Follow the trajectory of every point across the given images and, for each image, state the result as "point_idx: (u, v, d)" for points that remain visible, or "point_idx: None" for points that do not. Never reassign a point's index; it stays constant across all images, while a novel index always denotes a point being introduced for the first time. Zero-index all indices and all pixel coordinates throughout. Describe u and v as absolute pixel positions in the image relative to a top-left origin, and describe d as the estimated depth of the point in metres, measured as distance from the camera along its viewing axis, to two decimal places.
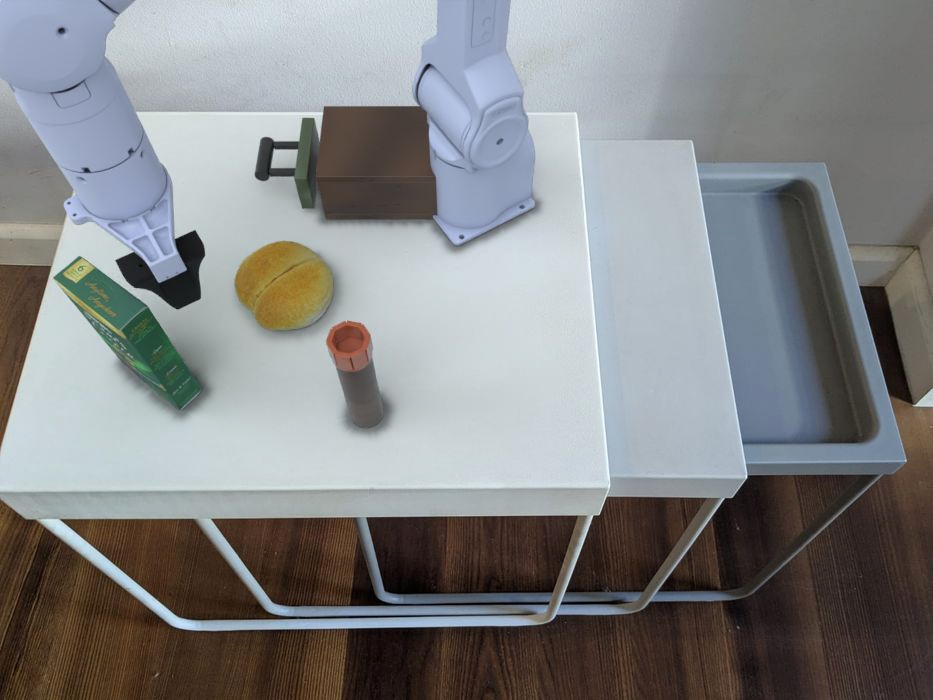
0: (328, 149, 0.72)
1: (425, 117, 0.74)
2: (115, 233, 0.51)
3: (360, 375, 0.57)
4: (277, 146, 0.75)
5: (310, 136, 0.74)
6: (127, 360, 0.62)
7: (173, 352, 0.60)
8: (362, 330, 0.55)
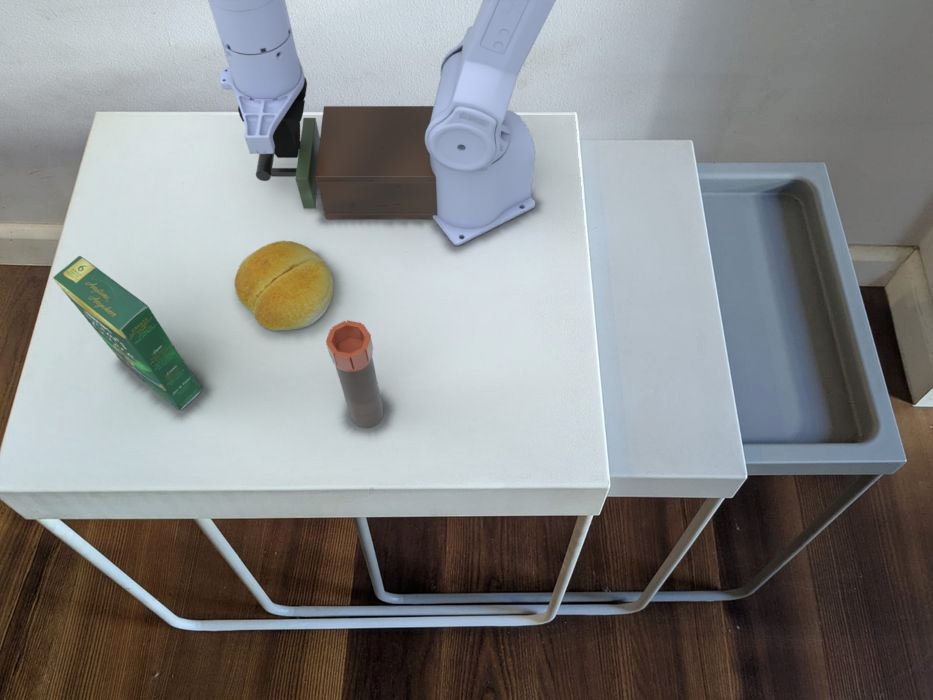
0: (328, 149, 0.72)
1: (425, 117, 0.74)
2: (239, 104, 0.64)
3: (360, 375, 0.57)
4: None
5: (311, 136, 0.74)
6: (127, 360, 0.62)
7: (173, 352, 0.60)
8: (362, 330, 0.55)
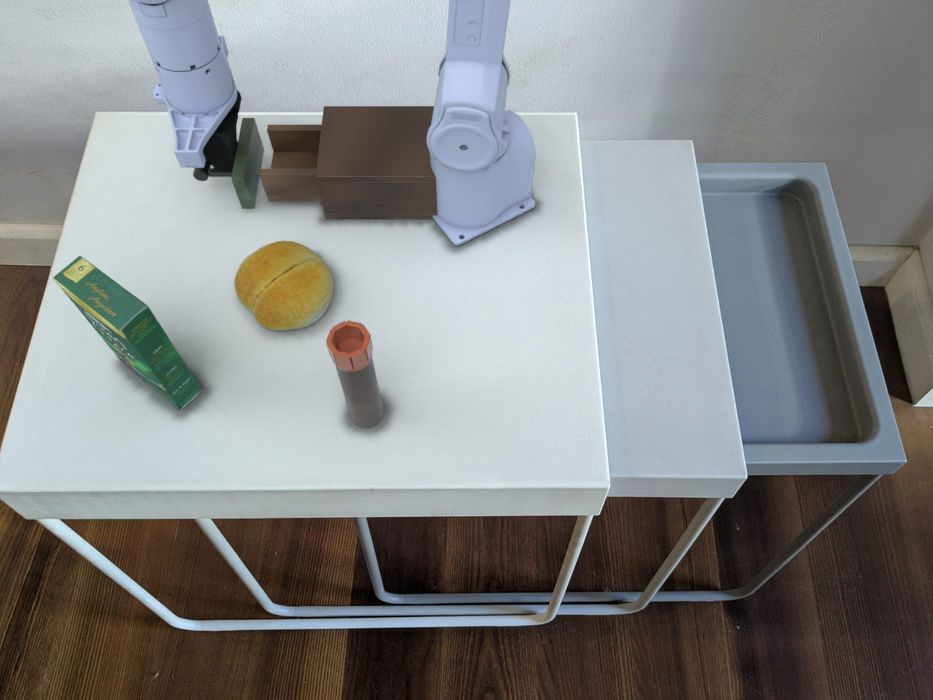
0: (328, 149, 0.72)
1: (425, 117, 0.74)
2: (171, 119, 0.66)
3: (360, 375, 0.57)
4: None
5: (249, 136, 0.74)
6: (127, 360, 0.62)
7: (173, 352, 0.60)
8: (362, 330, 0.55)
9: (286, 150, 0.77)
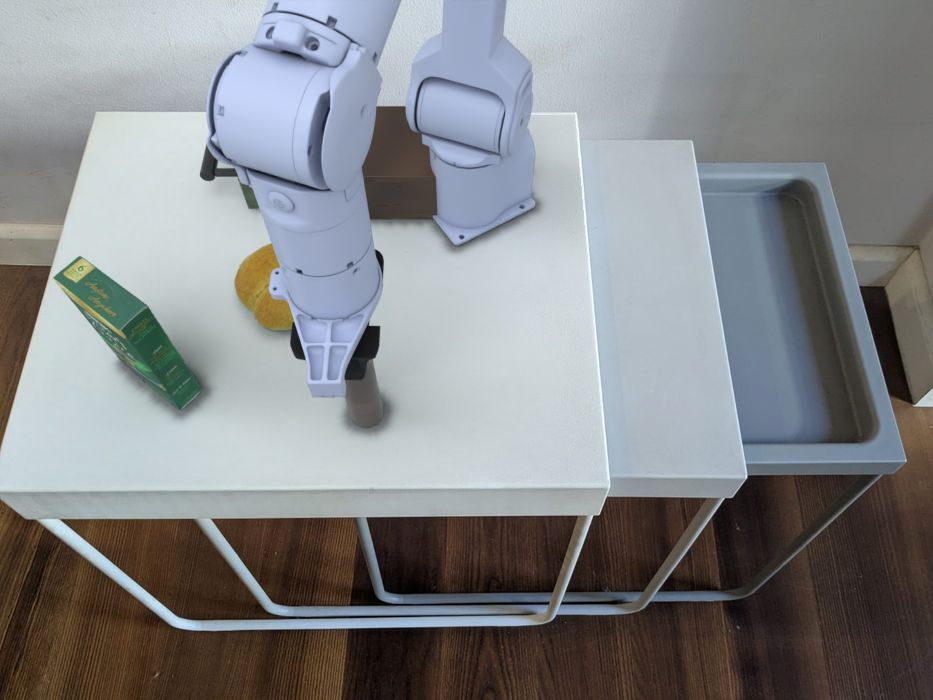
0: None
1: None
2: (298, 328, 0.47)
3: None
4: None
5: None
6: (127, 360, 0.62)
7: (173, 352, 0.60)
8: None
9: None
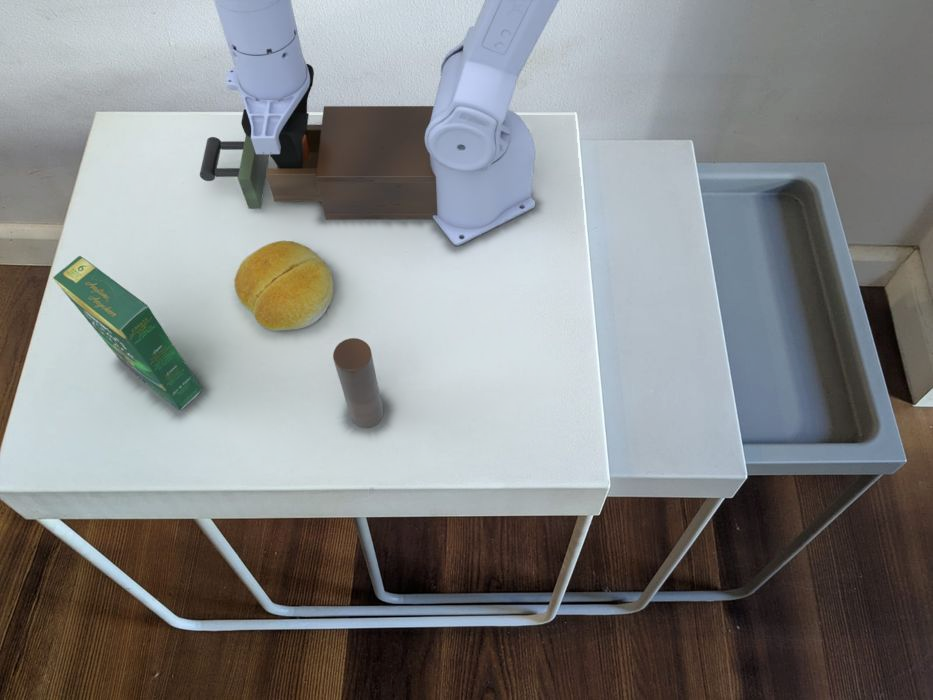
0: (328, 149, 0.72)
1: (425, 117, 0.74)
2: (245, 105, 0.64)
3: (360, 375, 0.57)
4: (224, 146, 0.75)
5: None
6: (127, 360, 0.62)
7: (173, 352, 0.60)
8: None
9: None
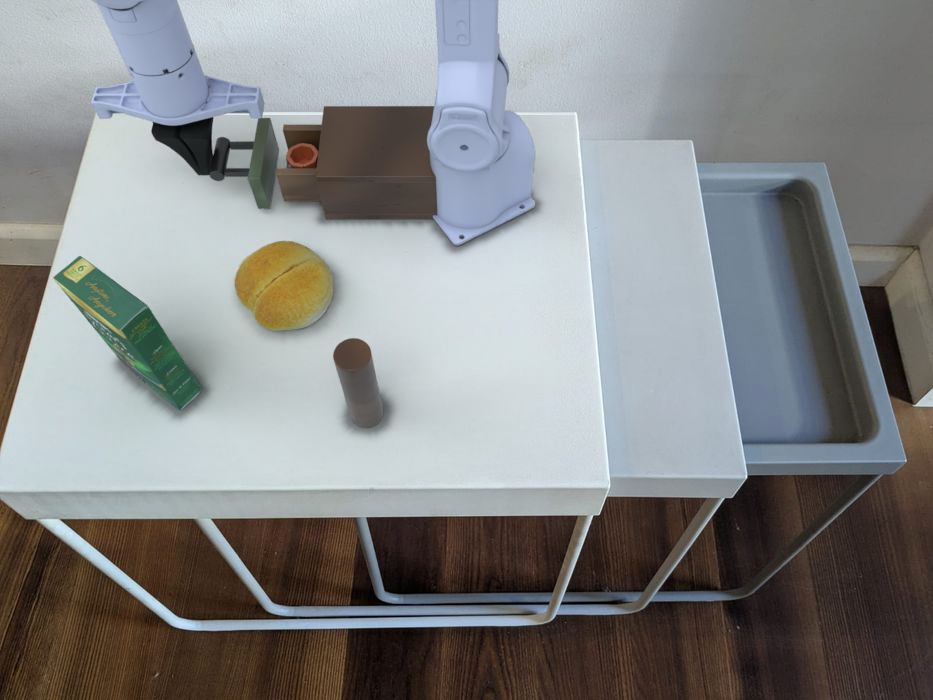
0: (328, 149, 0.72)
1: (425, 117, 0.74)
2: None
3: (360, 375, 0.57)
4: (233, 146, 0.75)
5: (265, 136, 0.74)
6: (127, 360, 0.62)
7: (173, 352, 0.60)
8: (312, 149, 0.75)
9: None
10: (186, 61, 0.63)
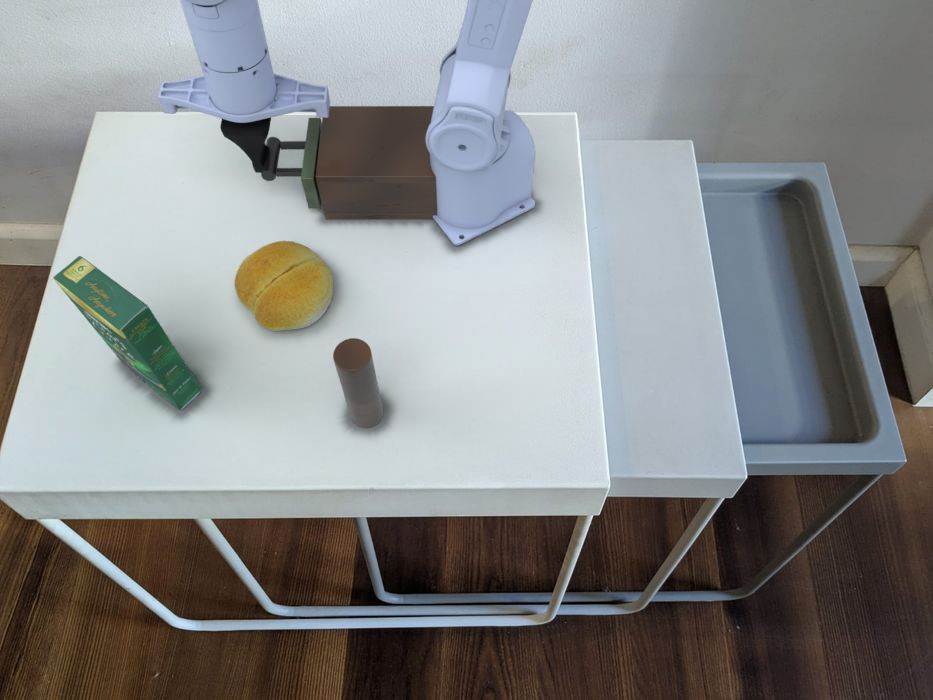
0: (328, 149, 0.72)
1: (425, 117, 0.74)
2: None
3: (360, 375, 0.57)
4: (283, 146, 0.75)
5: (316, 136, 0.74)
6: (127, 360, 0.62)
7: (173, 352, 0.60)
8: None
9: None
10: (261, 59, 0.63)
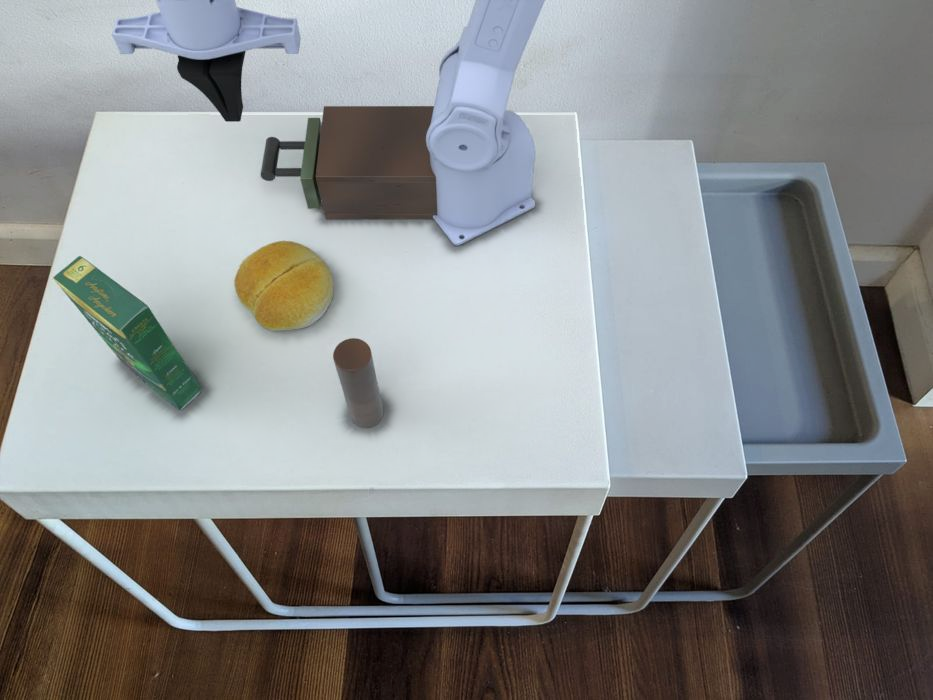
0: (328, 149, 0.72)
1: (425, 117, 0.74)
2: None
3: (360, 375, 0.57)
4: (283, 146, 0.75)
5: (316, 136, 0.74)
6: (127, 360, 0.62)
7: (173, 352, 0.60)
8: None
9: None
10: None
